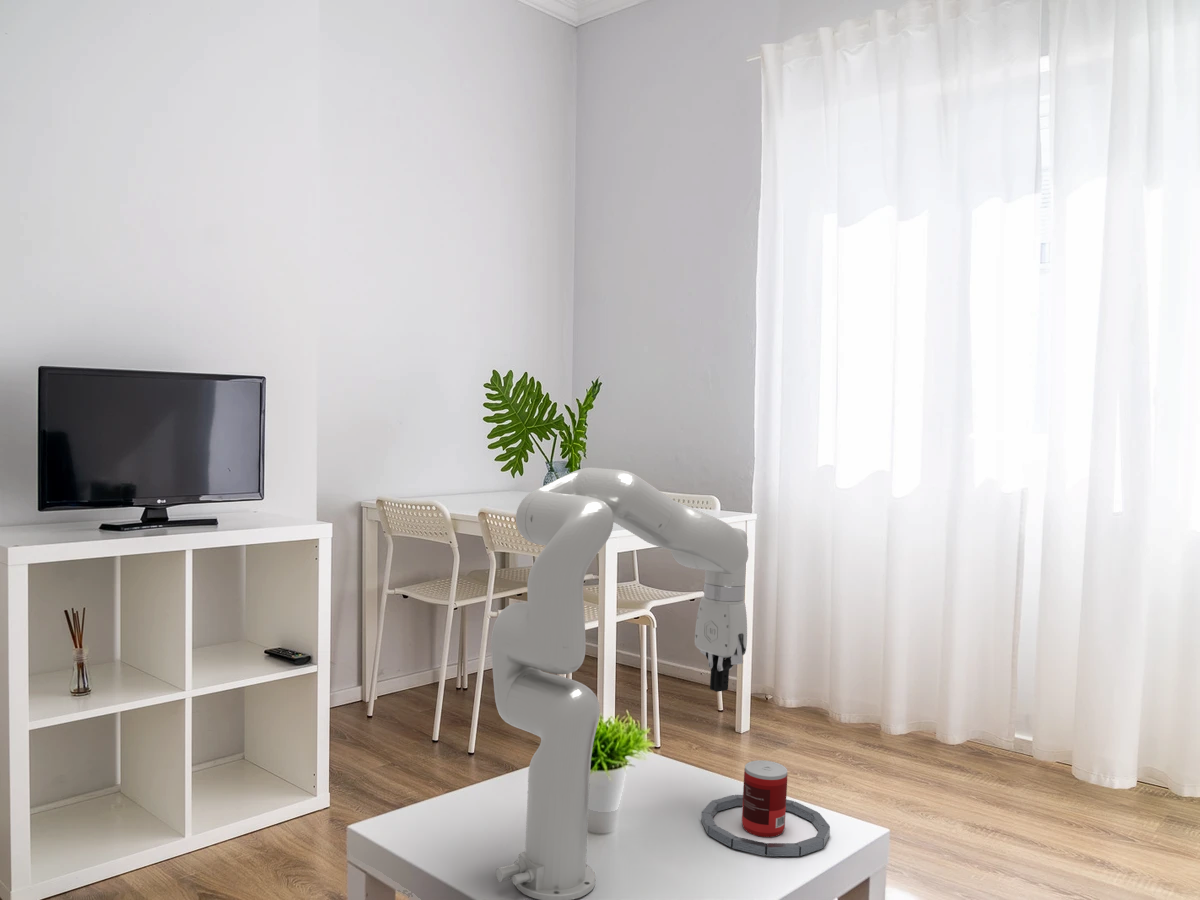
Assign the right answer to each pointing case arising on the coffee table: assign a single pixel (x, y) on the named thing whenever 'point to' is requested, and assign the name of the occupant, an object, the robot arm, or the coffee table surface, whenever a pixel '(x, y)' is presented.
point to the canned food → (764, 798)
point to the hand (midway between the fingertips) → (718, 689)
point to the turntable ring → (761, 847)
